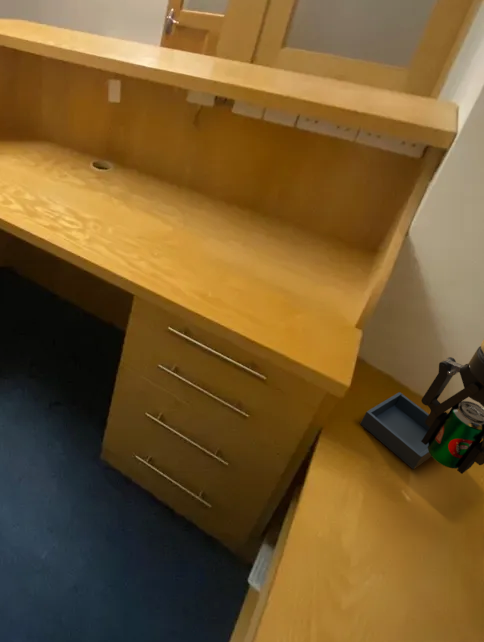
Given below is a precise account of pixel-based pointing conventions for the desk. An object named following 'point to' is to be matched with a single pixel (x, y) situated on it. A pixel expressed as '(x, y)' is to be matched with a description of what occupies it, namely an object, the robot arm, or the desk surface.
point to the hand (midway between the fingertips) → (445, 453)
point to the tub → (400, 428)
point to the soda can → (457, 434)
